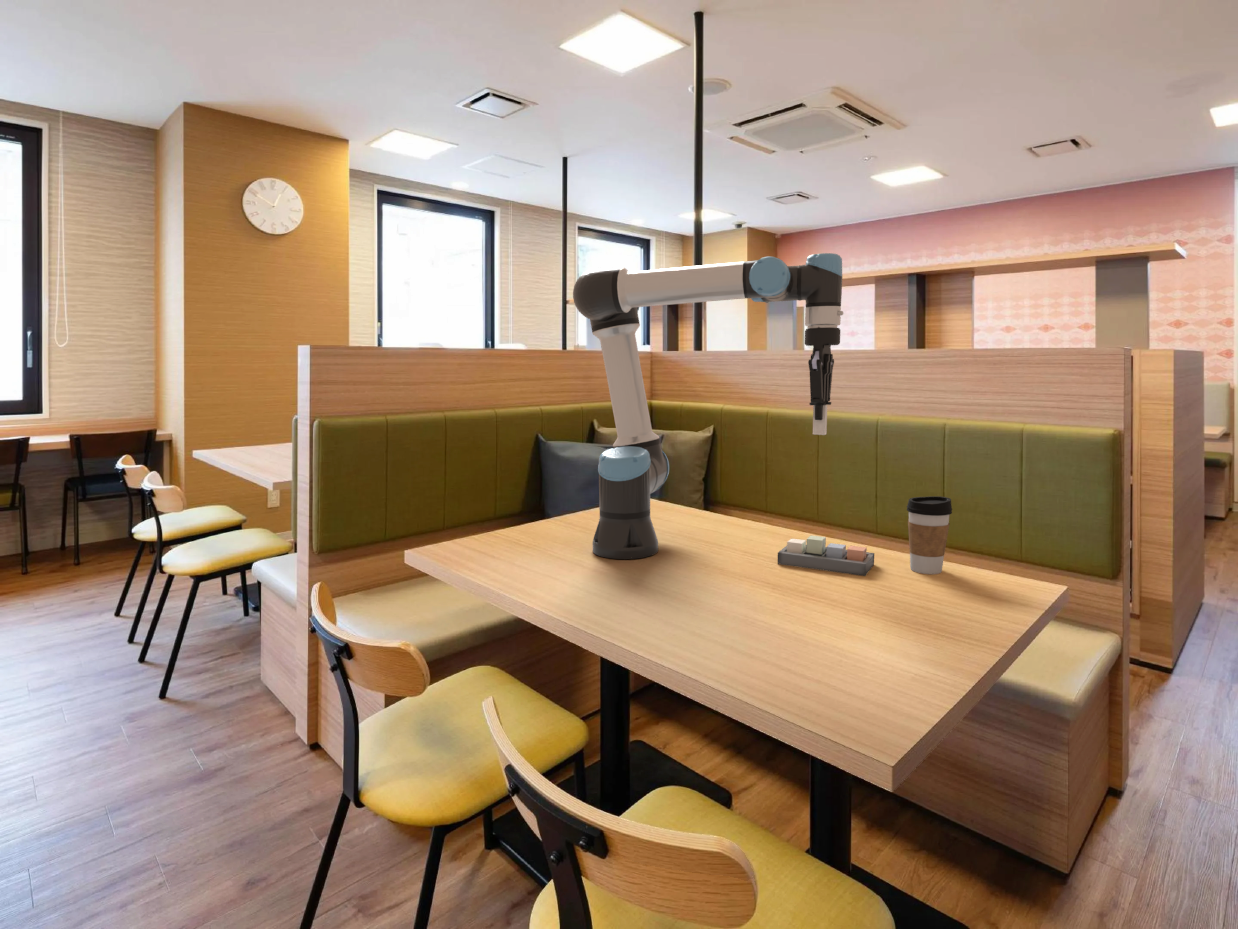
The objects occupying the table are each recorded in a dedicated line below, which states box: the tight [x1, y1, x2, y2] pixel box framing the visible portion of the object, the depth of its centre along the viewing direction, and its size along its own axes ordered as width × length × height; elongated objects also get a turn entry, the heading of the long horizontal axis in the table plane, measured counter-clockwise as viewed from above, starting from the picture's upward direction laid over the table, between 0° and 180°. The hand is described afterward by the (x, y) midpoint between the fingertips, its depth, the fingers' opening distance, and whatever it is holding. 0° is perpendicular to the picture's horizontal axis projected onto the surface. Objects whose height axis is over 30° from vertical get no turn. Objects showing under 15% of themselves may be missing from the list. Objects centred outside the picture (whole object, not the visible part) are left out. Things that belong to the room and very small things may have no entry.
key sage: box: [806, 535, 827, 554], centre depth 148 cm, size 3×3×3 cm
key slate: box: [826, 542, 847, 559], centre depth 146 cm, size 3×3×3 cm
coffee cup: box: [906, 495, 953, 575], centre depth 141 cm, size 8×8×15 cm
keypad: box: [777, 544, 875, 577], centre depth 147 cm, size 18×9×2 cm, turn 60°
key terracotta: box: [846, 545, 868, 562], centre depth 144 cm, size 3×3×3 cm
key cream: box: [786, 538, 807, 554], centre depth 150 cm, size 3×3×3 cm
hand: (819, 434), depth 156 cm, fingers closed
